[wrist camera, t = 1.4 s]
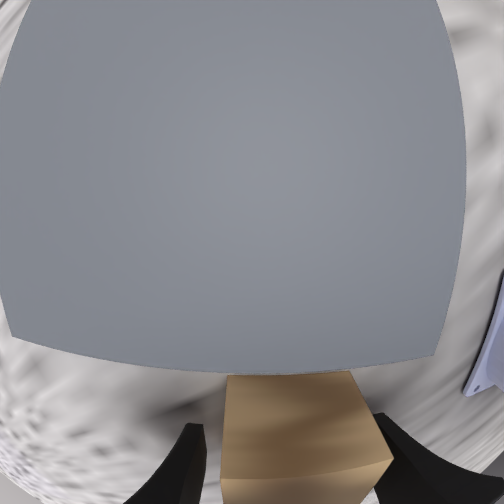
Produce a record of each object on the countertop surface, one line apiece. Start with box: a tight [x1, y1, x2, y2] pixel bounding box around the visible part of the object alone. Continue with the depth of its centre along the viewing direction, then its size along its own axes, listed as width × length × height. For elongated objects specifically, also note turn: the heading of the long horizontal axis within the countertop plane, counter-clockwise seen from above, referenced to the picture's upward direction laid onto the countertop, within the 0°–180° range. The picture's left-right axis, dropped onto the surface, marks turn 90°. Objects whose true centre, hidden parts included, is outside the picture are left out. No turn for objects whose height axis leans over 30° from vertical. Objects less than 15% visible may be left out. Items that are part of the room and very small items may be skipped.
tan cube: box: [220, 371, 394, 504], centre depth 8 cm, size 5×5×5 cm
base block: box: [0, 0, 466, 373], centre depth 6 cm, size 14×14×3 cm
